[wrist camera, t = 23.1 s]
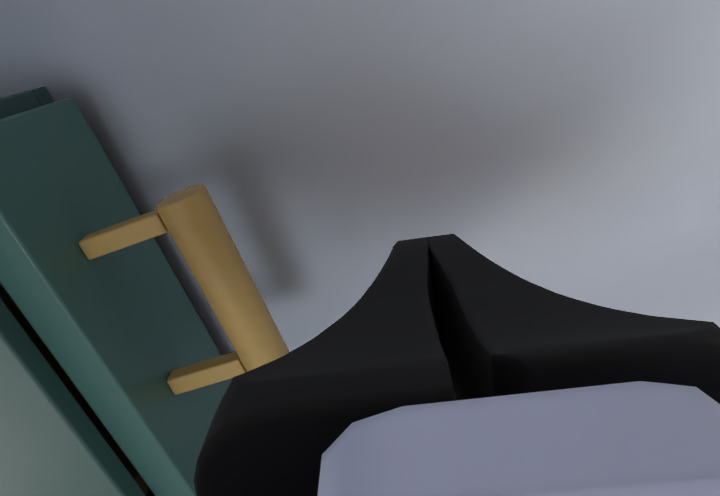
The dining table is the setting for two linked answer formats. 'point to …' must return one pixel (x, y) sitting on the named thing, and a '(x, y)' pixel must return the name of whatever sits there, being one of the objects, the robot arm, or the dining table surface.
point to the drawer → (123, 294)
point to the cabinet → (47, 409)
